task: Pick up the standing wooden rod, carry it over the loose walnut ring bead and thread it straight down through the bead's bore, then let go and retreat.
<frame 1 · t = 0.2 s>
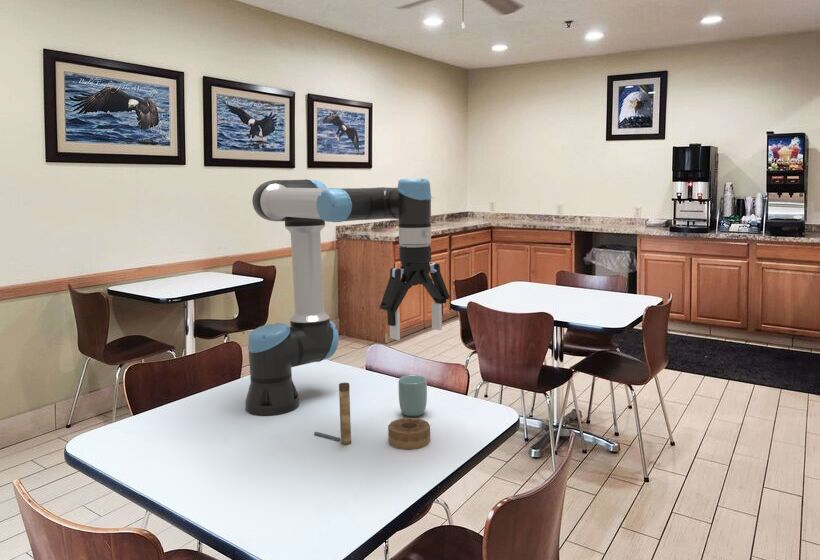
hand: (416, 334, 149), 27 cm above the table, fingers open, 13 cm apart
bead: (409, 440, 155), on the table
cup: (413, 414, 173), on the table
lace: (327, 437, 158), on the table
wooden rod: (346, 442, 154), on the table
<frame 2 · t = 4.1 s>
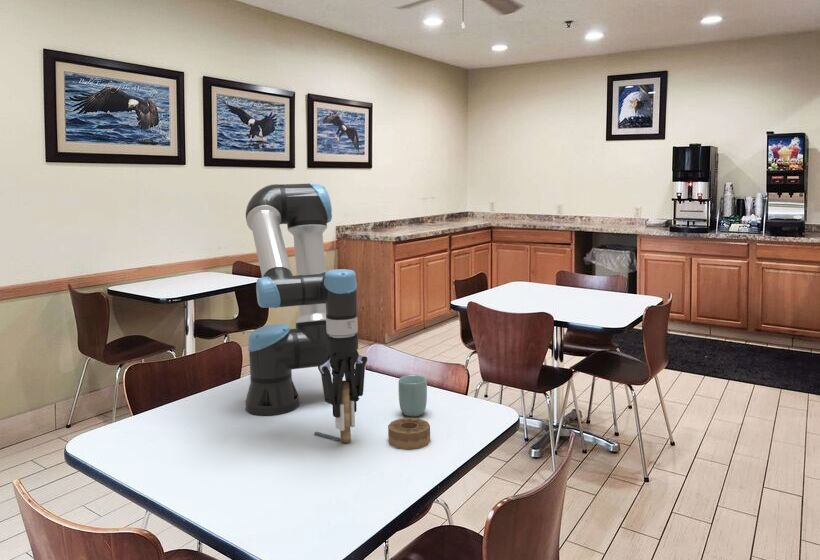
hand: (345, 427, 154), 4 cm above the table, fingers closed on wooden rod, 2 cm apart
wooden rod: (345, 440, 154), on the table, touching gripper
everything else where it was.
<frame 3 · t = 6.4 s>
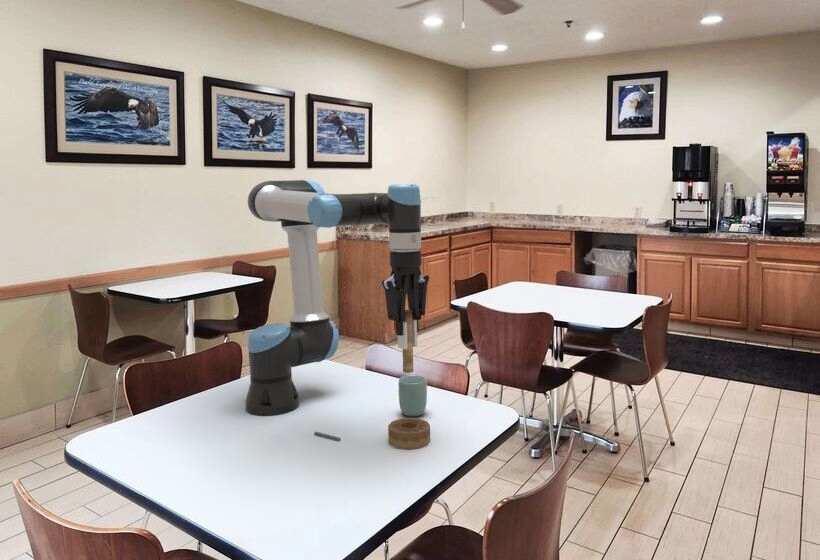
hand: (407, 346, 151), 24 cm above the table, fingers closed on wooden rod, 2 cm apart
wooden rod: (408, 371, 152), point 18 cm above the table, touching gripper
everything else where it was.
when the fingers open (6 cm above the table, at t = 9.3 s): wooden rod stays where it is, on the table.
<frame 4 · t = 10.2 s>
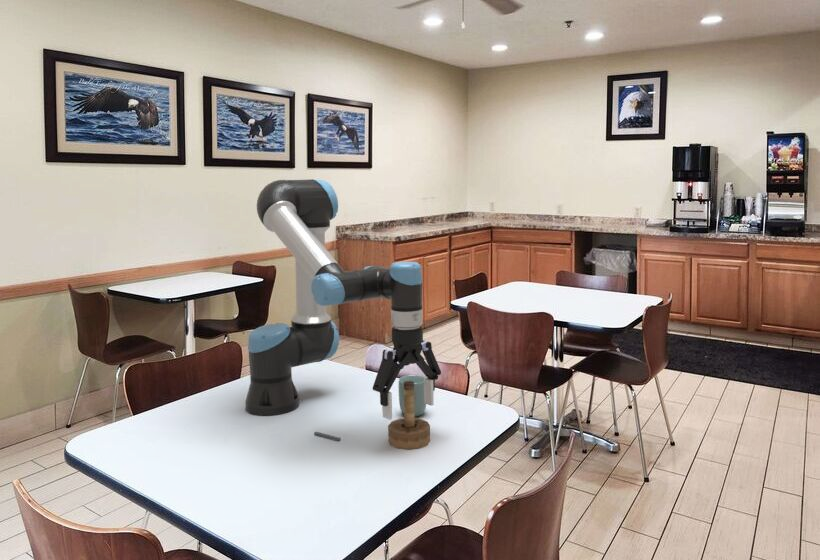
hand: (408, 411, 154), 8 cm above the table, fingers open, 13 cm apart
wooden rod: (409, 441, 155), on the table
everything else where it was.
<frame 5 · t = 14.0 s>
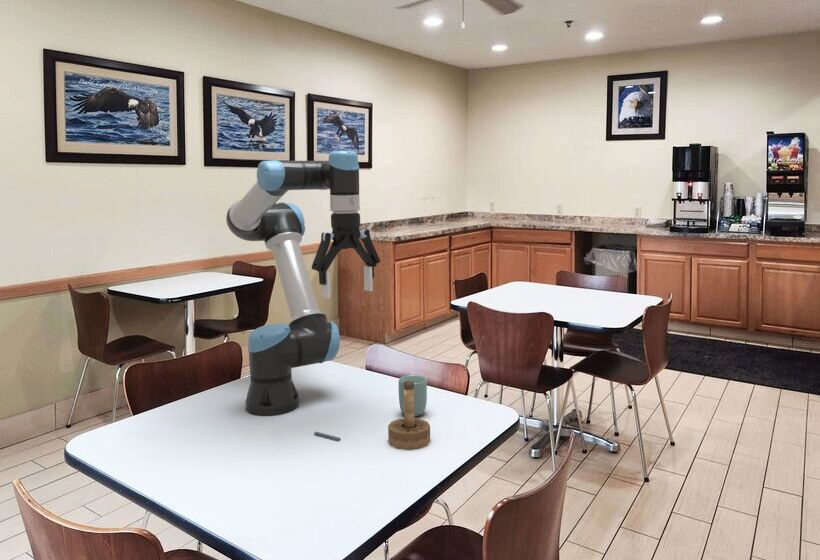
hand: (348, 293, 164), 35 cm above the table, fingers open, 13 cm apart
nothing on the table moved.
at the end: wooden rod 0.2 cm off-centre on the bead, point 0.0 cm above the bead's base; wooden rod tilted 0°; the gripper is holding nothing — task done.
